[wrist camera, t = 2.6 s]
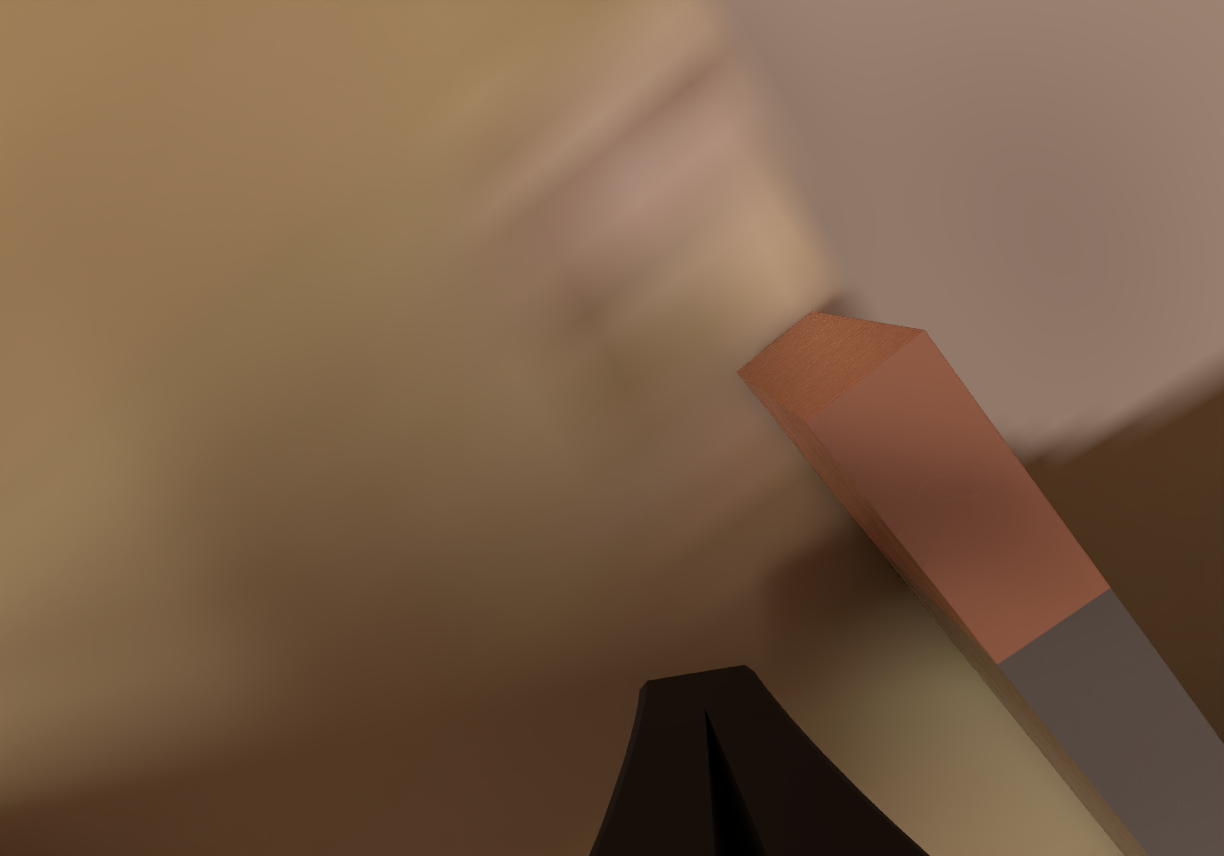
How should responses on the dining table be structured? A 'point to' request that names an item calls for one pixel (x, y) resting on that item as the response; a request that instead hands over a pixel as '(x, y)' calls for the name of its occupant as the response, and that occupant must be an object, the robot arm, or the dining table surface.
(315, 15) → the dining table surface
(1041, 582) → the bar
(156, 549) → the dining table surface
